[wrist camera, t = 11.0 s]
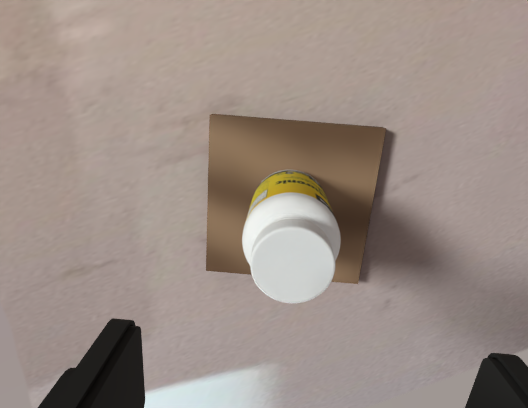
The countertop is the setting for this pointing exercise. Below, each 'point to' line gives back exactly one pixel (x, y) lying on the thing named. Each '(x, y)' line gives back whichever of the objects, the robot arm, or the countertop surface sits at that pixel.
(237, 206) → the walnut board
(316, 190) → the supplement bottle
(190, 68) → the countertop surface
